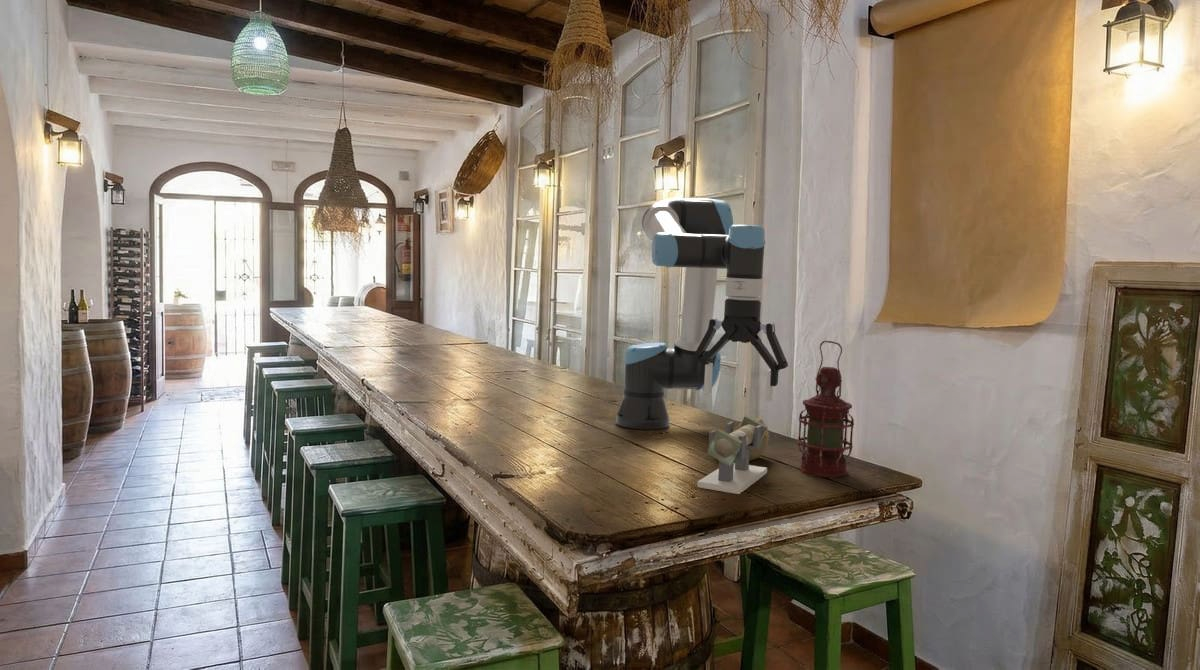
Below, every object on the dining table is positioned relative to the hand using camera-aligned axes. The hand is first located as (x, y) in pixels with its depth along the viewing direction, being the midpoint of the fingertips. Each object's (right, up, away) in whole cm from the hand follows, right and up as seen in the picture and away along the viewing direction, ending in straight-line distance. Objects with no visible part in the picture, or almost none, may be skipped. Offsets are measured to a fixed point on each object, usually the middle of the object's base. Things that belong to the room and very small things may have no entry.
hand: (737, 397), depth 172 cm
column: (-1, -12, +1) cm, 12 cm away
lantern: (+22, -18, +11) cm, 30 cm away
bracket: (-1, -18, +1) cm, 18 cm away
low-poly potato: (+4, -17, +21) cm, 27 cm away
